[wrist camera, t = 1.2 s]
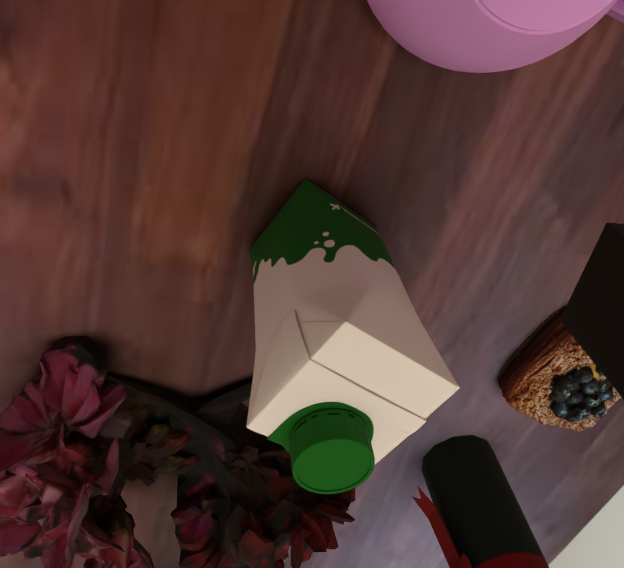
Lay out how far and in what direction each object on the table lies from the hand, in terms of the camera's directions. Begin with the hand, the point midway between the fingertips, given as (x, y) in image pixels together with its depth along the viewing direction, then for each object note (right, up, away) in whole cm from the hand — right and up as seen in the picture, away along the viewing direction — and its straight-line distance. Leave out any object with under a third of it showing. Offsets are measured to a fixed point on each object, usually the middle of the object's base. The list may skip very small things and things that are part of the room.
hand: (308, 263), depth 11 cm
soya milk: (0, +3, +30) cm, 31 cm away
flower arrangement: (-12, -14, +40) cm, 44 cm away
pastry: (+24, -8, +41) cm, 48 cm away
